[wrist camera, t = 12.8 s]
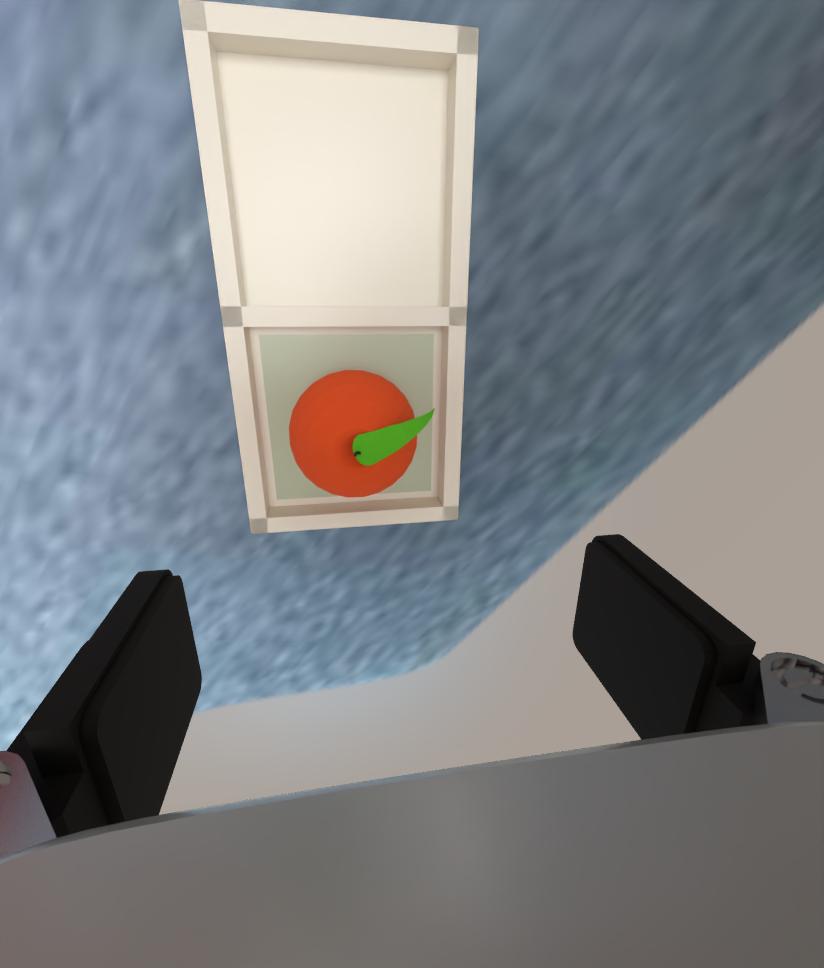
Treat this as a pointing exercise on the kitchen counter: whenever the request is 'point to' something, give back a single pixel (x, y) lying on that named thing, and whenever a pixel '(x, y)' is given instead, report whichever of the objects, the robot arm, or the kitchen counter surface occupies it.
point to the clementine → (354, 433)
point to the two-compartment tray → (337, 234)
